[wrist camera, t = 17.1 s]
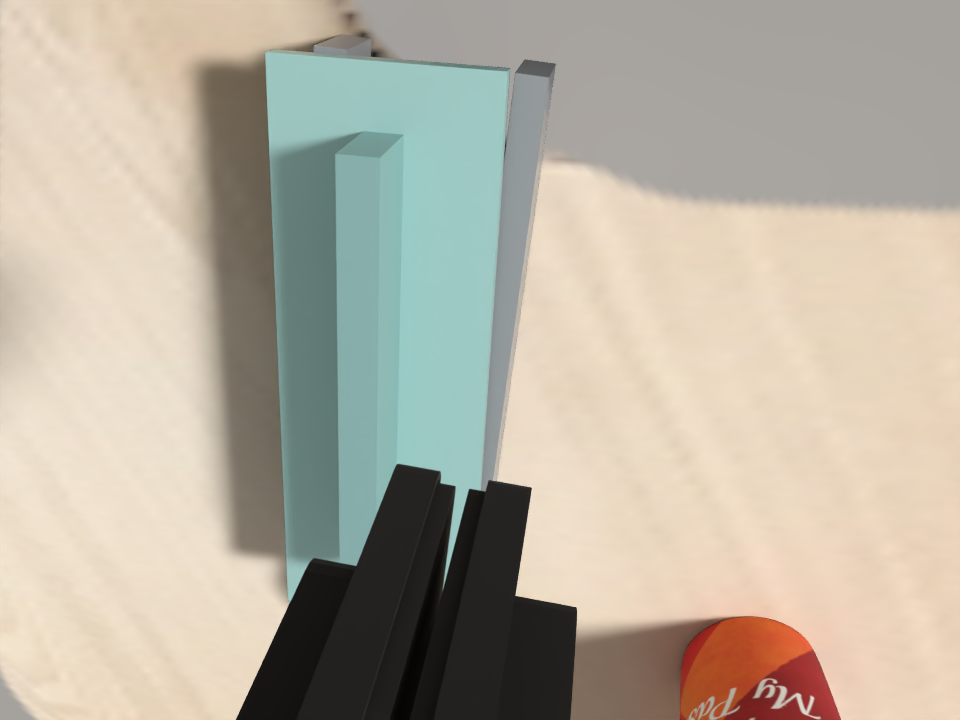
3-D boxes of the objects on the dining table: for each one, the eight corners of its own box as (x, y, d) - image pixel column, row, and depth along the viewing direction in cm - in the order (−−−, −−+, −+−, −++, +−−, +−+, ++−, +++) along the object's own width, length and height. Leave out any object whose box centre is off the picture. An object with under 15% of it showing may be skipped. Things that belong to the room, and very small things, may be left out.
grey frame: (341, 34, 30) (311, 46, 27) (555, 63, 29) (549, 78, 26) (318, 570, 39) (294, 621, 36) (479, 599, 39) (468, 653, 36)
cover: (273, 49, 27) (224, 66, 24) (510, 68, 26) (494, 88, 23) (295, 638, 37) (263, 709, 33) (469, 663, 36) (453, 738, 33)
